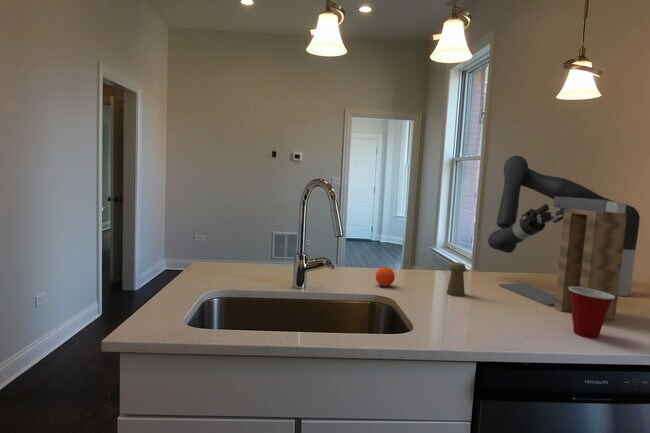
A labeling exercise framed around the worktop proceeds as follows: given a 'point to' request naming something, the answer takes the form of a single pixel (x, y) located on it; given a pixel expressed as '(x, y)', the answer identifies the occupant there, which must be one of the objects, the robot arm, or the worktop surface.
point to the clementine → (385, 276)
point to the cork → (456, 280)
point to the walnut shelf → (590, 255)
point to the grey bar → (590, 204)
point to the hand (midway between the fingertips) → (558, 206)
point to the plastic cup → (589, 310)
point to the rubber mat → (532, 293)
